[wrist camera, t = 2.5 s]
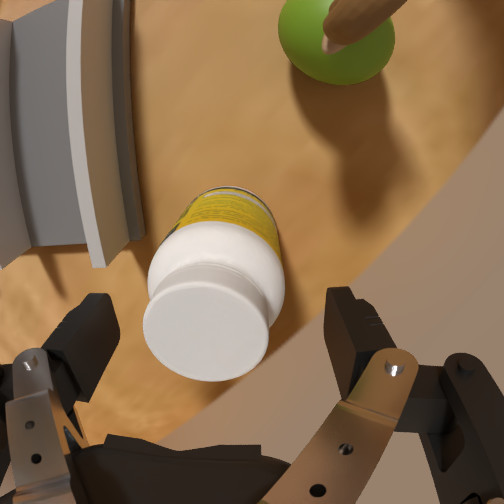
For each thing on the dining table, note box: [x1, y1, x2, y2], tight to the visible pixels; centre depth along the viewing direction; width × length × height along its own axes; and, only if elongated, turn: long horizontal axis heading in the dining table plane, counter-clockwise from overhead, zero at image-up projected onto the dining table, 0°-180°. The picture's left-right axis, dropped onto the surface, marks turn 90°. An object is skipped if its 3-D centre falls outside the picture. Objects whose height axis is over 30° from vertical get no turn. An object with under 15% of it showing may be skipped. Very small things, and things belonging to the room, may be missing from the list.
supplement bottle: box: [143, 186, 285, 382], centre depth 14 cm, size 5×5×10 cm
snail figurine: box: [278, 0, 407, 85], centre depth 8 cm, size 5×6×12 cm
